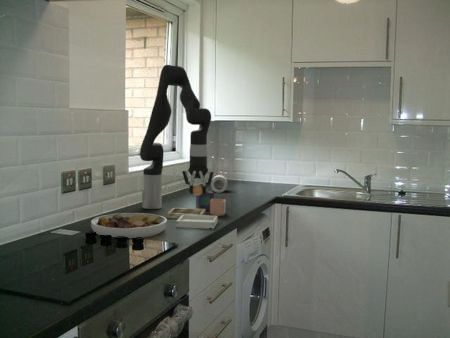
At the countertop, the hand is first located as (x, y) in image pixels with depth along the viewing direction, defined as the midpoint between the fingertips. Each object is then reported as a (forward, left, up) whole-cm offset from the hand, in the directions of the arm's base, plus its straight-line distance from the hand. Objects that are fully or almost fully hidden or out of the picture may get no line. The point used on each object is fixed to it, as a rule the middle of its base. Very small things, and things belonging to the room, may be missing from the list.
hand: (197, 194), depth 213 cm
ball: (0, 0, +2) cm, 2 cm away
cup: (+6, +24, -13) cm, 28 cm away
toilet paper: (-2, +99, -14) cm, 100 cm away
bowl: (-25, -18, -14) cm, 34 cm away
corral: (-8, +18, -13) cm, 24 cm away
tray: (0, 0, -13) cm, 13 cm away
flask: (-2, +35, -14) cm, 38 cm away
